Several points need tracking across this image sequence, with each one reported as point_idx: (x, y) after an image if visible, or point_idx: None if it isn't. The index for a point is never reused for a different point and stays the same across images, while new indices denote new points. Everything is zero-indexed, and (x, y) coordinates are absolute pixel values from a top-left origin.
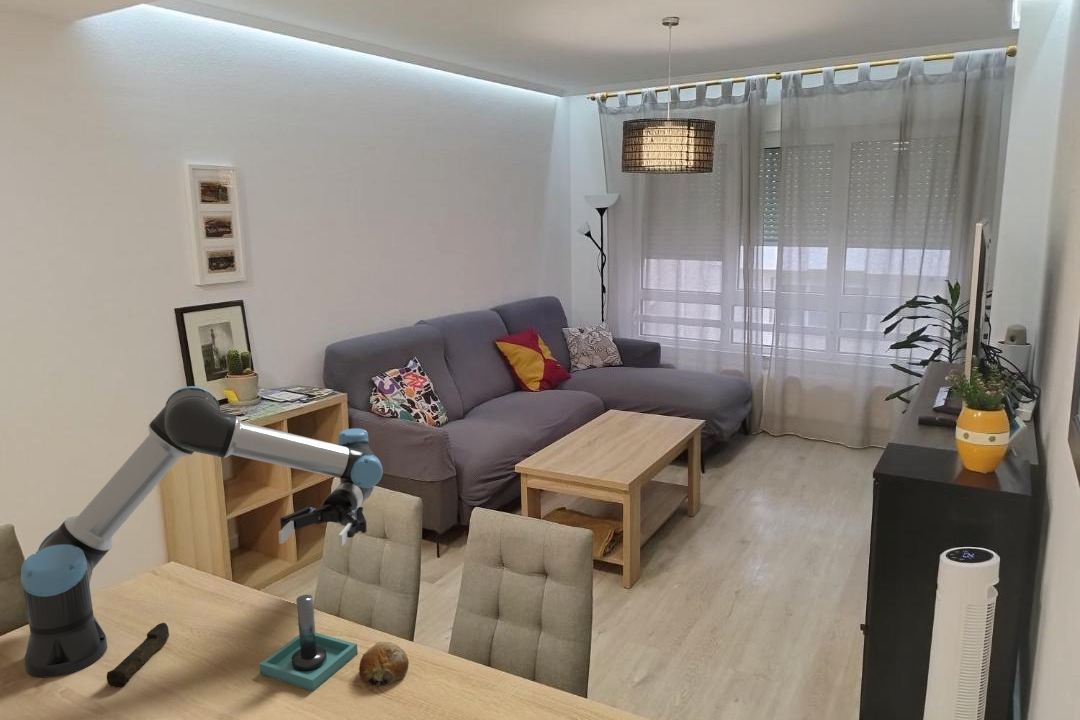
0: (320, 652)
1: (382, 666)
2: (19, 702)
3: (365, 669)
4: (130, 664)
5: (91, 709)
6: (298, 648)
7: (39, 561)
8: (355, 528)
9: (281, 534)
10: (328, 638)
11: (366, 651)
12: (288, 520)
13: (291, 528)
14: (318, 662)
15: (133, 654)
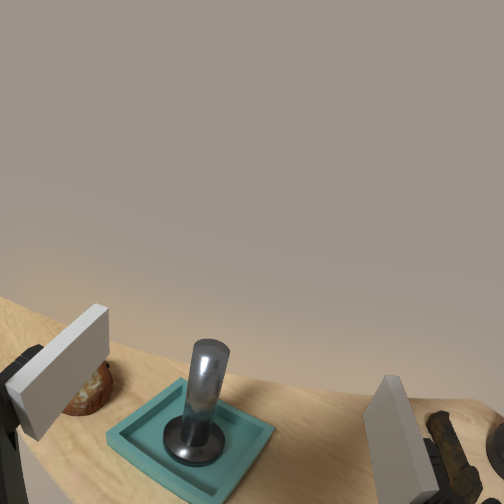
0: (174, 438)
1: None
2: (482, 406)
3: (104, 362)
4: (441, 426)
5: (423, 400)
6: (222, 483)
7: None
8: (4, 374)
9: (383, 382)
10: (160, 467)
11: (94, 387)
12: (452, 499)
13: (395, 481)
14: (175, 418)
15: (454, 440)
